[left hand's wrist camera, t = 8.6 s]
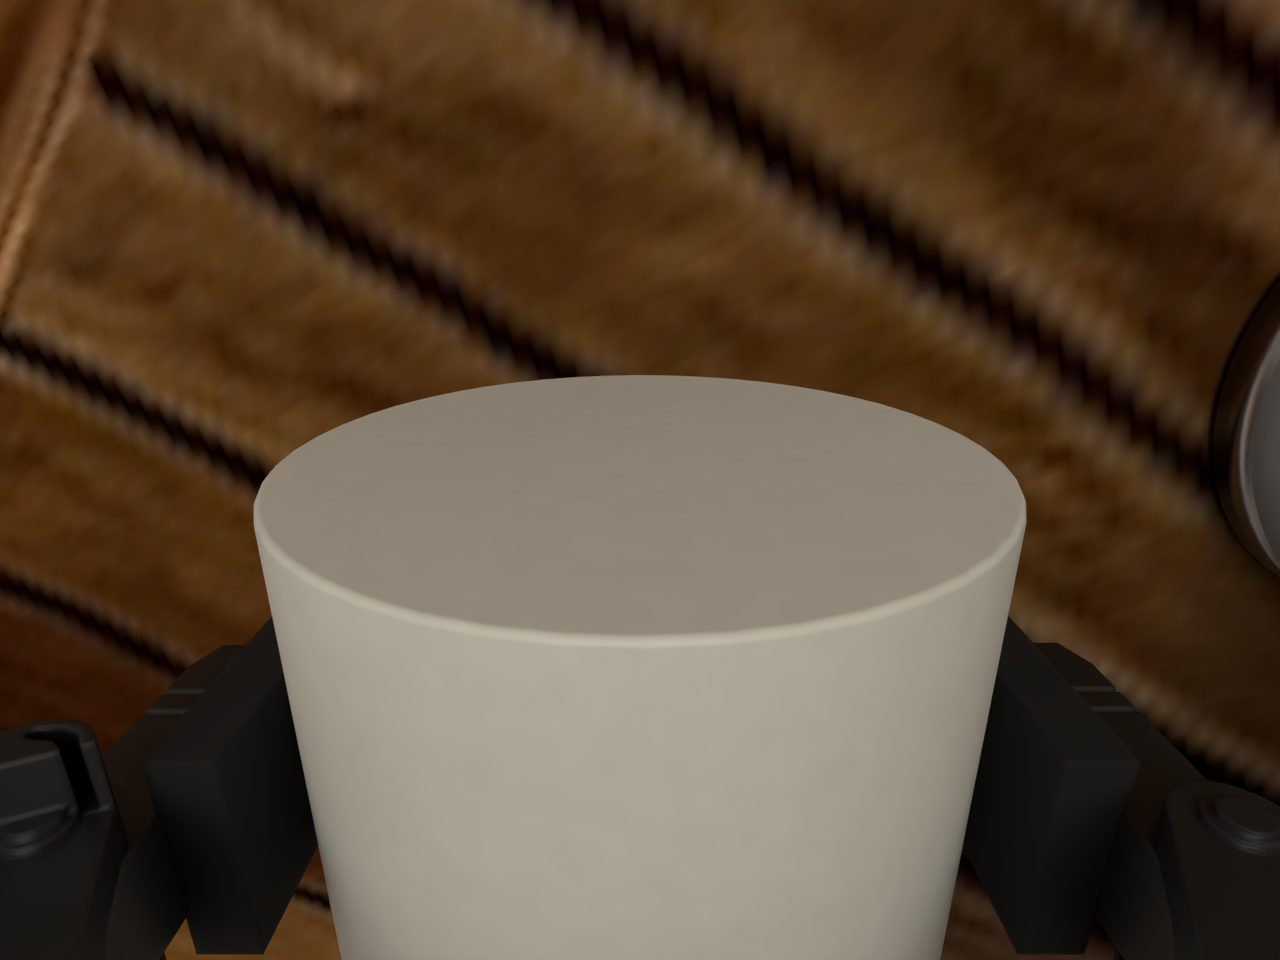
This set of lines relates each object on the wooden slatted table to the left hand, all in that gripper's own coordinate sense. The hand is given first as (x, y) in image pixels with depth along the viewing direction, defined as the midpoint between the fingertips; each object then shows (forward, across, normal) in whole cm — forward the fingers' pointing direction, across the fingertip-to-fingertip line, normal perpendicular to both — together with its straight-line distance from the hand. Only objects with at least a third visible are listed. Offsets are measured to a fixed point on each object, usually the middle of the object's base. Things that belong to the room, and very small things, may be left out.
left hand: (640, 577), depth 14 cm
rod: (0, 0, -9) cm, 9 cm away
